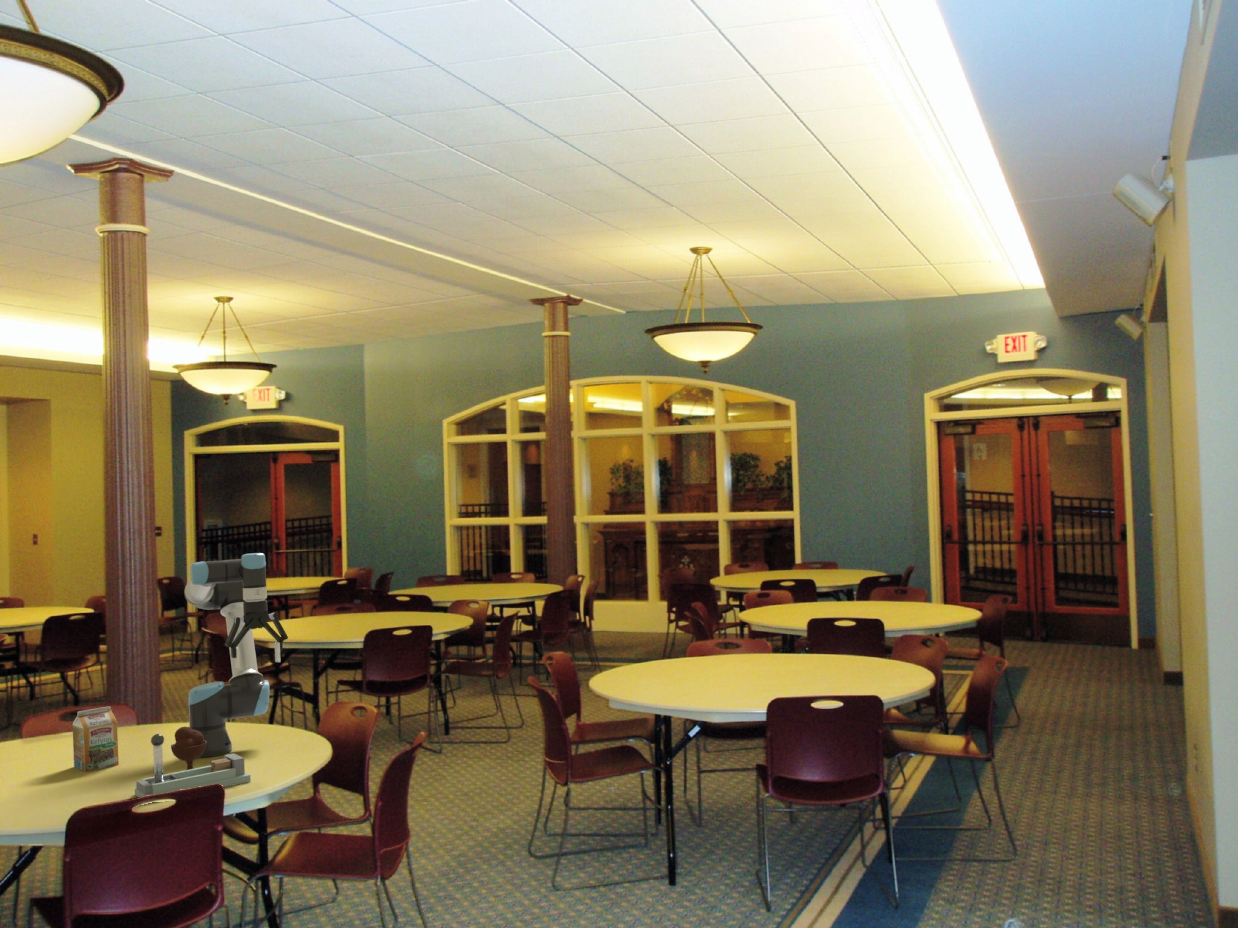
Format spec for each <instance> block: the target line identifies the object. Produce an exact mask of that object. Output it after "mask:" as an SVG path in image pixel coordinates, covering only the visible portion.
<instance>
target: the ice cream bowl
mask: <svg viewBox="0 0 1238 928" xmlns="http://www.w3.org/2000/svg"><path fill="white" fill-rule="evenodd" d="M174 741H175V743H173V744H171V745H170V749H171V752H172V754H173V756H174V757H175V758H177V759H178V760H181V761H182V762H183V761H184V762H186V766H187V768H186V769H185V770H190V769H195V768H194V764H193V763H194V760H197V759H199V757H200V756H201V755H202V754H203V753H204V752H205V749H206V746H207V741H206V740H204V737H203V735H202V734H201V733H200V732H199V731H197V730H192V729H191V728H190V726H181V727H179V728H178V729H176V731H175V732H174ZM200 758H201V757H200ZM185 770H183V771H185Z"/></svg>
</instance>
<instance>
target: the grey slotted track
mask: <svg viewBox="0 0 1238 928" xmlns="http://www.w3.org/2000/svg"><path fill="white" fill-rule="evenodd" d="M223 757H224V758H226V759H228V760H230V761H231V769H226V770H221V771H216V772H211V765H207V766H206V765H205V766H202V767H196V768H195V769H190V770H186V769H185V771H184V770H181V771H177V772H176V771H175V772H171V773H170V772H169V773H166V774H163V779H166V778H170V774H174V775H176V776H178V777H180V779H176V780H171V781H166V782H161V783H156V784H150V783H149V782H151V781H155V777H154V776H150V777H146V778H142V779H140V780H139V779H138V780H135V784H136V785H135V787H134V796H136V797H137V798H139V797H143V796H147V795H155V794H163V793H167V792H173V791H178V790H180V789H188V788H195V787H199V786H207V785H214V784H221V785H223V786H225V787H224V788H226V787H232V786H235V785H240V784H246V783H250V782H251V774H249V773H247V772H245V757H244V756H241V755H238V754H237V753H229V754H223ZM224 758H223V759H224Z"/></svg>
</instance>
